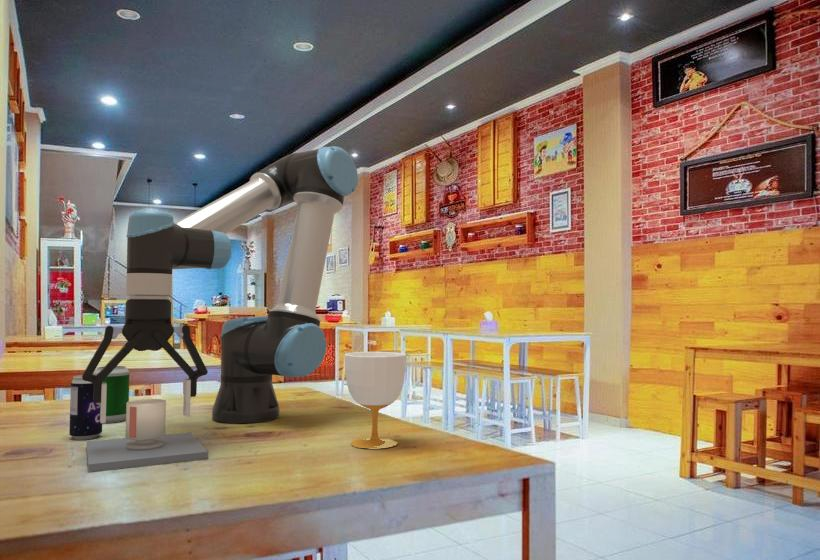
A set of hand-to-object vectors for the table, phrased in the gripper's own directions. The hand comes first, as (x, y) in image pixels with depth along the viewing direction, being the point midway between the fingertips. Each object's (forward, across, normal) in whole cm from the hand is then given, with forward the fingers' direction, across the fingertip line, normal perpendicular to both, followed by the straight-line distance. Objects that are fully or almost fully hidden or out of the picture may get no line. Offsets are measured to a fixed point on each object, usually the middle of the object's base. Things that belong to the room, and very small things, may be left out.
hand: (146, 418), depth 107 cm
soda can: (+6, +4, -36) cm, 37 cm away
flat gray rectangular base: (+6, 0, 0) cm, 6 cm away
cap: (+3, 0, 0) cm, 3 cm away
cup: (+6, -39, +12) cm, 41 cm away
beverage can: (+6, +9, -19) cm, 22 cm away
